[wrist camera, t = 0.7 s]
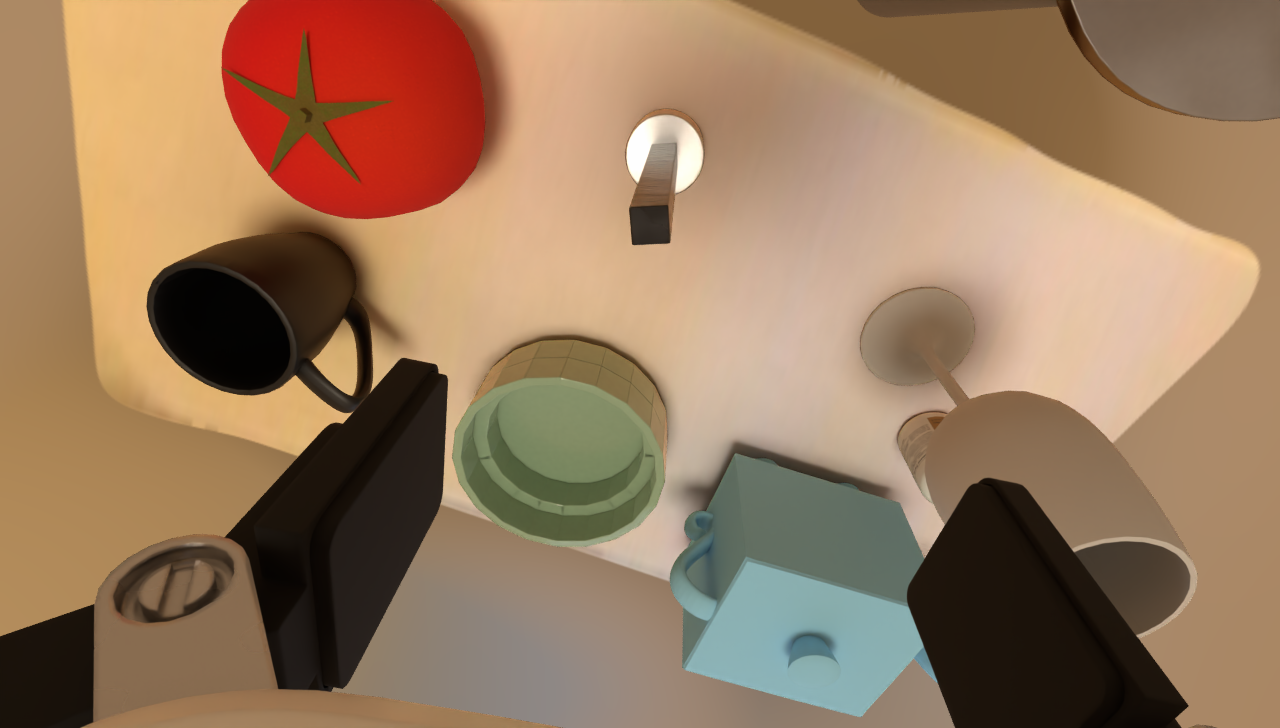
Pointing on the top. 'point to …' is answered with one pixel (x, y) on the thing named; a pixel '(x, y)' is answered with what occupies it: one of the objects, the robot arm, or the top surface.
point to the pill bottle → (918, 445)
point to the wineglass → (1034, 460)
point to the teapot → (798, 588)
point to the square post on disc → (661, 171)
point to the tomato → (356, 101)
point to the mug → (261, 315)
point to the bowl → (563, 444)
